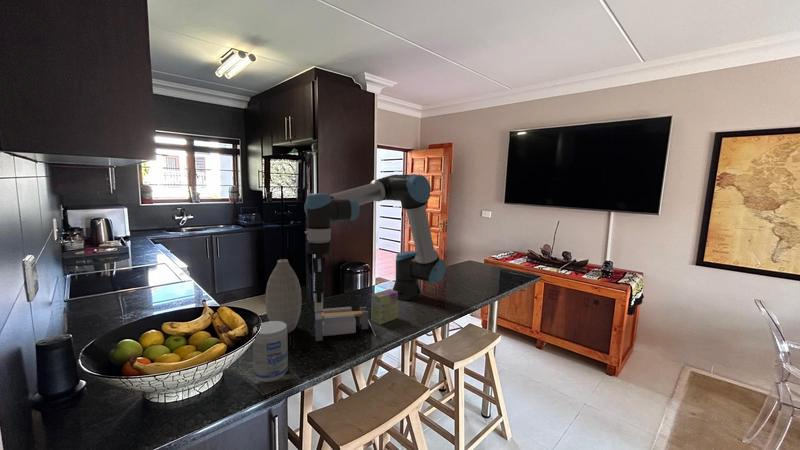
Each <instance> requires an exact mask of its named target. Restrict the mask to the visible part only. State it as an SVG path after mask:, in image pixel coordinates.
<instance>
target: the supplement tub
mask: <svg viewBox="0 0 800 450" xmlns="http://www.w3.org/2000/svg"><path fill="white" fill-rule="evenodd" d="M260 324H261V329H260V332H259V334H258V335H257V337H256V338H255V340H254V342H253V341H252V353H253V354H252V358H253V360H252V361H253V364H252V366H253V367H252V368H253V377H254V379H255V380H256V381H258V382H262V383H271V382H275V381H278V380H280V379H282V378H283V377H284V376H286V373H287V372H288V369H289V367H288V366H289V363H288V362H289V359H288V357H289V356H288V353H289V351H288V350H289V349H288V333H287V325H286V324H285V323H284V322H281V321H269V320H268V321H264V322H262V323H260ZM256 326H257V325H255V326H254V327H253V329H252V334H253V333H256V331H257V327H256Z"/></svg>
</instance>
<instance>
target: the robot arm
mask: <svg viewBox="0 0 800 450" xmlns="http://www.w3.org/2000/svg"><path fill="white" fill-rule="evenodd" d="M431 192H432V189H431V185H430V181H429V180H428V179H427V177H425V176H424V175H421V174H415V173H412V174H391V175H386V176H384V177H380V178H377V179H374V180H372V181H370V182H369V184H364V185H362V186H357V187H354V188H350V189H347V190H342V191H338V192H334V193H332V194H330V193H314V192H313V193H309V194H308V195H307V196H306V201H305V202H304V204H303V208H304V213H305V215H306V230H305V231H304V234H306V240H307V242H306V253H307V254H309V255H314V257H312V266H313V273H314V284H313V287H314V290H312V294H314V312H315V313H320V312H323V309H324V291H325V290H326V289H325V287H324V273H325V265H326V258H325V257H323V256H324V255H327V254H330V253H331V246H332V245H331V241H330V240H331V238H332V236H331V234H332V231H331V230H332V227H331V223H333V222H346V221H347V222H349V221H355V220H357V218H358V217H359V216H360V206H364V205H365V204H369V203H371V202H382V201H396V202H400V204H401V208H402V209H403V210H405V211H406V213H407V218H408V222H409V223H408V224H409V227H410V232H411V235H412V240H413V243H414V248H415V250H408V251H407V250H406V251H400V252H398V253H397V254H396V255H395V256H396V257H395V280H394V281H395V282H394V284H393V286H392V287H393V288H392V290H394V291H397V292H398V301H399V300H400V301H415V300H419V299H420V298H421V297H422V291H421V287H420V284H419V280H420V281H424V282H427V283H432V284H433V283H434V284H438V283H439V282H440V283H441V281H442V279H443V278H444V276H445V274H446V269H447V263H446V261H445V260H444V259H442V258H441V259H440V255H439V252H438V251H437V250H435V247H434V241H433V237H432V232H431V228H430V223H429V218H428V214H427V208H426V207H427V205H428V202H429V199H430V197H431Z"/></svg>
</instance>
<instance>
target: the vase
mask: <svg viewBox="0 0 800 450" xmlns="http://www.w3.org/2000/svg"><path fill="white" fill-rule="evenodd" d="M267 280H268V281H267V284H266V289H265V312H266V316H267V320H268V322H269V321H281V322H284V323H285V324H286V325H287V334H289V333H291V332H293V331H294V330H295V329H296V327H297V325H298V322H299V320H300V316H301V311H302V289H301V284H300V282H299V278H298V276H297V274H296V272H295V271H294V269H293V268H292V267H291V264H290V263H289V260H288V259H285V258H284V259H283V258H281V259H278V260H276V265H275V267H274V269H273V270H272V272H271V274H270V276H269V278H268V279H267Z"/></svg>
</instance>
